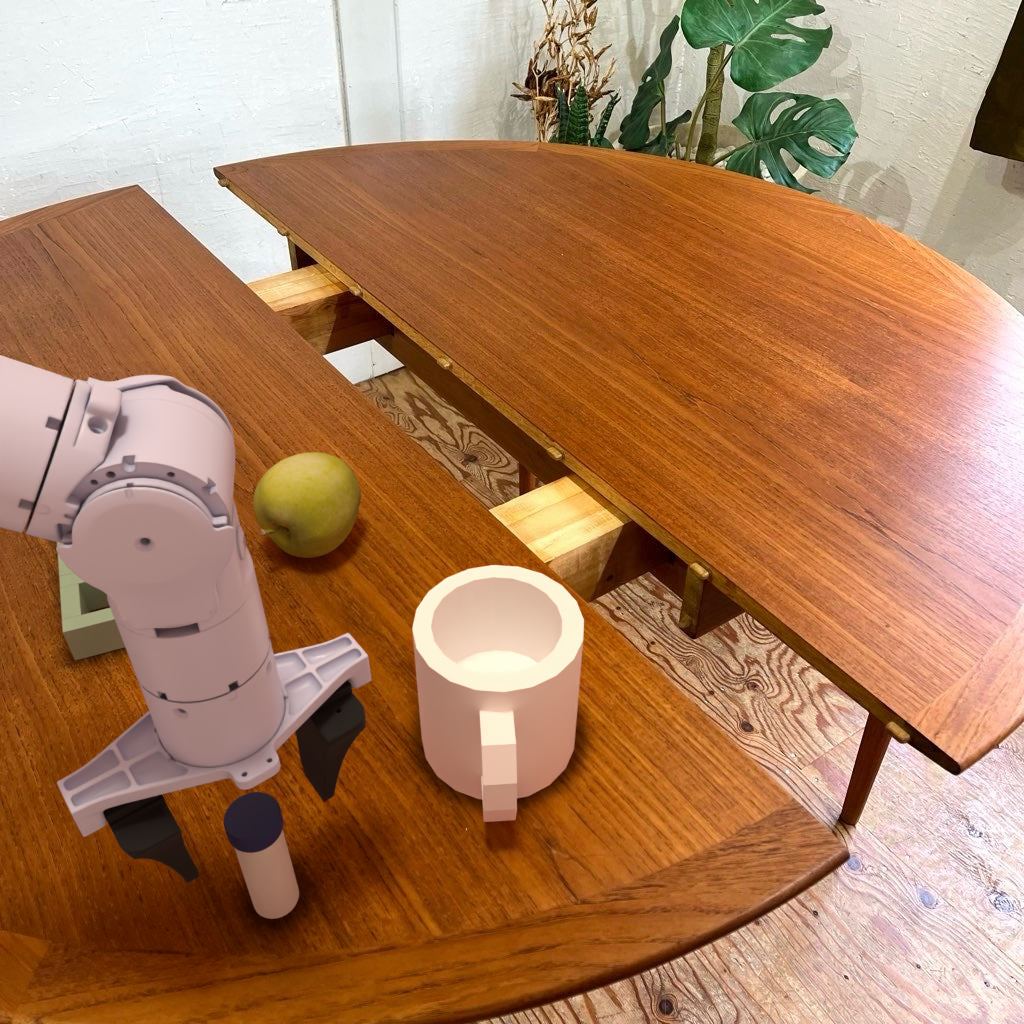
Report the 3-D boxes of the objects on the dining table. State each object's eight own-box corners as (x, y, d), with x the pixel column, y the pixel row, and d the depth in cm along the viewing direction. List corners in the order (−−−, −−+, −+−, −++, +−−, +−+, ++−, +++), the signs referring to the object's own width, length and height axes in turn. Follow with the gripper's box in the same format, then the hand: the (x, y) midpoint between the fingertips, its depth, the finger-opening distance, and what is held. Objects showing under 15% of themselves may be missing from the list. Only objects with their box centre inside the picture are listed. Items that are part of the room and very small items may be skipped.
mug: (592, 844, 58) (604, 736, 51) (422, 855, 57) (411, 747, 50) (565, 670, 68) (573, 561, 61) (421, 678, 67) (412, 568, 60)
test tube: (264, 931, 53) (238, 851, 48) (241, 892, 55) (213, 810, 50) (310, 901, 55) (290, 820, 49) (287, 864, 57) (264, 781, 51)
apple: (238, 563, 76) (219, 484, 71) (305, 498, 82) (292, 421, 77) (320, 594, 74) (306, 515, 68) (383, 524, 80) (375, 447, 75)
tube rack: (161, 637, 70) (152, 609, 68) (74, 661, 68) (62, 632, 66) (140, 511, 81) (131, 483, 79) (64, 528, 79) (53, 500, 77)
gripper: (63, 804, 36) (150, 970, 44) (395, 630, 42) (413, 804, 51) (8, 686, 40) (97, 858, 49) (317, 544, 47) (346, 718, 55)
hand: (255, 824), depth 50 cm, fingers open, 7 cm apart
